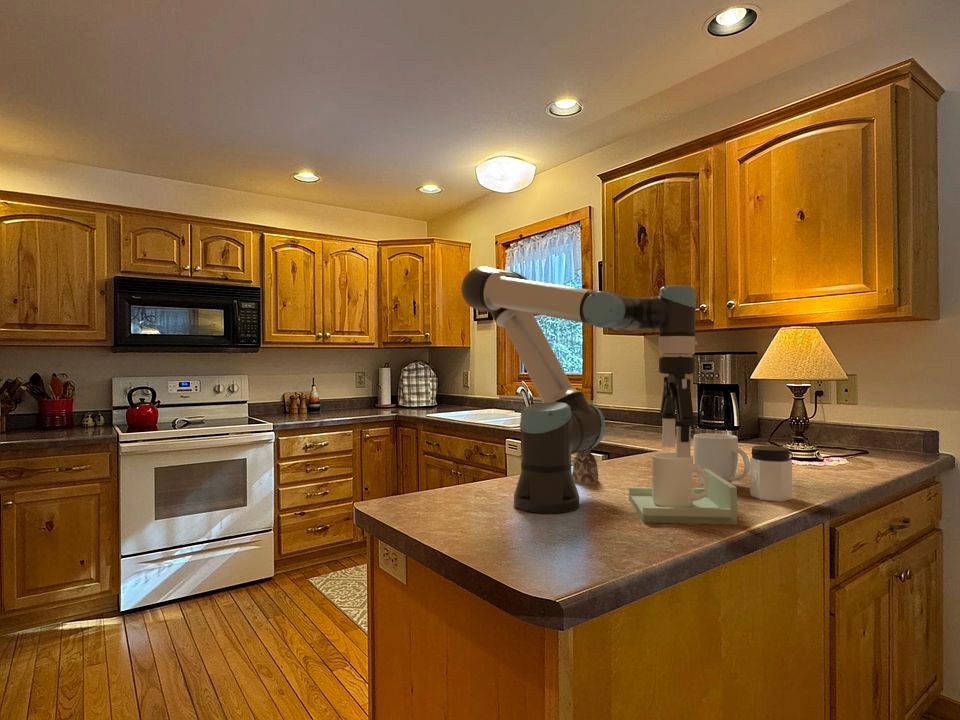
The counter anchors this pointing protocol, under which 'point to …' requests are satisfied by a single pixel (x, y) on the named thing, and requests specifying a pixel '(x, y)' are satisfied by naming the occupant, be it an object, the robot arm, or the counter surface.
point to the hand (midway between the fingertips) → (675, 451)
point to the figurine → (585, 468)
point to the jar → (771, 473)
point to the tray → (708, 510)
